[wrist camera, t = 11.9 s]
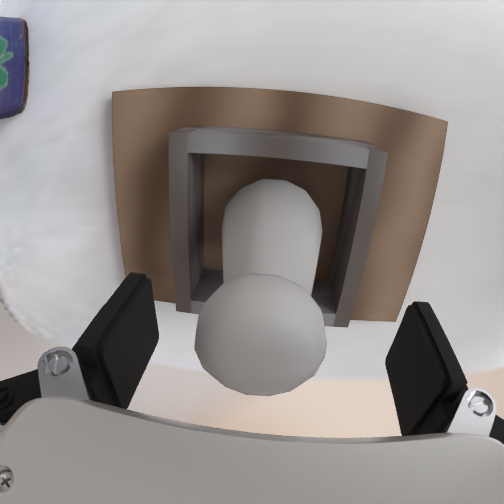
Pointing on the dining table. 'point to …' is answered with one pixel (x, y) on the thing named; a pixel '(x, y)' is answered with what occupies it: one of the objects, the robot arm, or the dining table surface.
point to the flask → (13, 66)
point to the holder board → (281, 168)
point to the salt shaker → (265, 293)
